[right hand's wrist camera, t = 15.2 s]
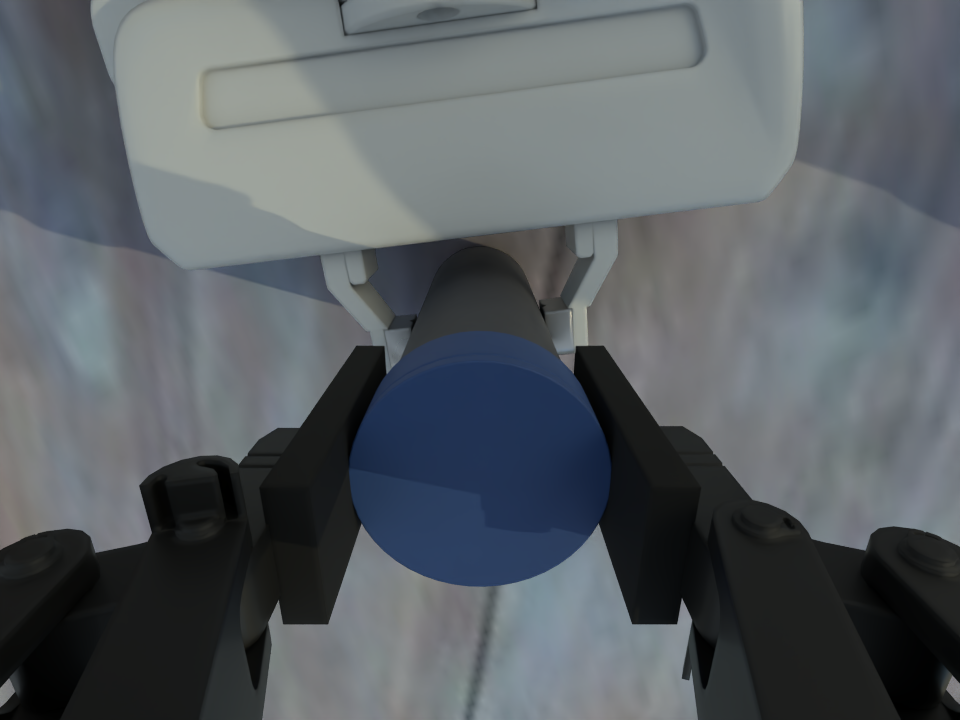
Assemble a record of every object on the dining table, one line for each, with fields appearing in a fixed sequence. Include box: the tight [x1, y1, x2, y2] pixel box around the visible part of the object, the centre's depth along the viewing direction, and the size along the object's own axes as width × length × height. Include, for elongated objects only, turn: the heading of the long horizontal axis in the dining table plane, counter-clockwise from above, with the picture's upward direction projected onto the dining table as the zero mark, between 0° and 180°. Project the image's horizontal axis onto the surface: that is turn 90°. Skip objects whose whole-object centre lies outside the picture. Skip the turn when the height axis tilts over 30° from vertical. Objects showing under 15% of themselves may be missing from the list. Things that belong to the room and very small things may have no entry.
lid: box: [349, 331, 612, 587], centre depth 11 cm, size 5×5×2 cm
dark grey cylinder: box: [400, 247, 560, 360], centre depth 18 cm, size 5×5×15 cm
